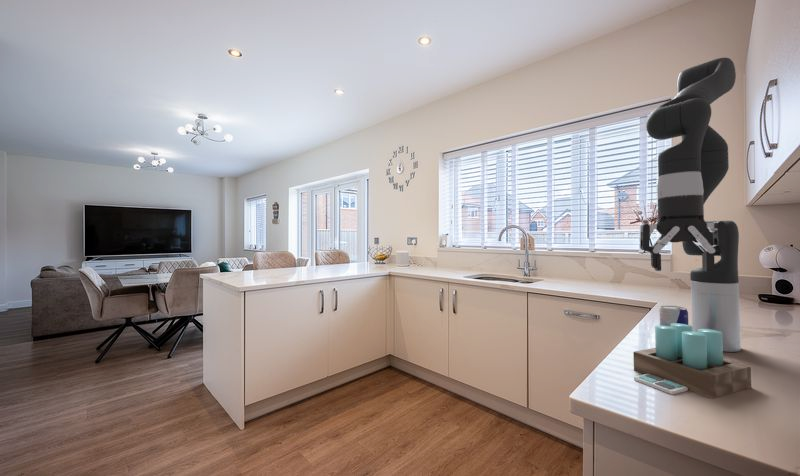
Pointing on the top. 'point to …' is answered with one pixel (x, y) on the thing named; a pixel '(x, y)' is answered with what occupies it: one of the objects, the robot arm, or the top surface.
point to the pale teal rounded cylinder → (666, 343)
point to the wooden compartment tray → (695, 374)
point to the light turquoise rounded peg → (694, 350)
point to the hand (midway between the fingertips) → (681, 270)
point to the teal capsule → (681, 329)
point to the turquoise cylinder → (713, 346)
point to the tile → (661, 383)
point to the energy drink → (673, 315)
